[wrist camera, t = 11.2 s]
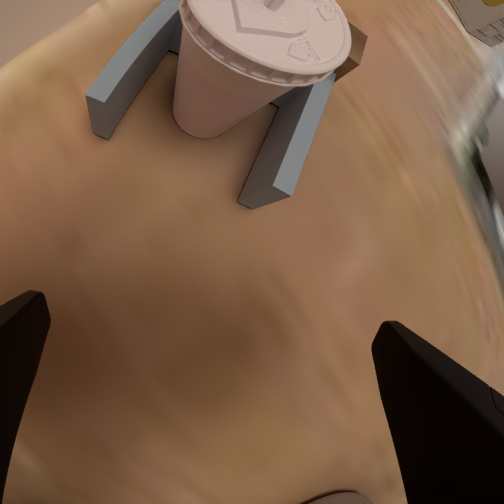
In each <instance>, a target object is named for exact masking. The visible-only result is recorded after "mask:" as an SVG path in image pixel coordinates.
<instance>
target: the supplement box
mask: <svg viewBox="0 0 504 504" xmlns="http://www.w3.org/2000/svg"><path fill="white" fill-rule="evenodd" d="M449 2H450V3H451V5H452V7H453V8H454V10H455V11H456V13H457V15H458V17H459V18H460V20H461V22H462V24H463V25H464V27H465V29H466V30H467V32H469V33H470V34H472V35H474V36H475V37H477V38H478V39H480V40H481V41H483V42H484V43H486V44H487V45H489V46H490V47H493V46H495V45H497V44H499V43H502V42H504V0H449Z"/></svg>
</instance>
